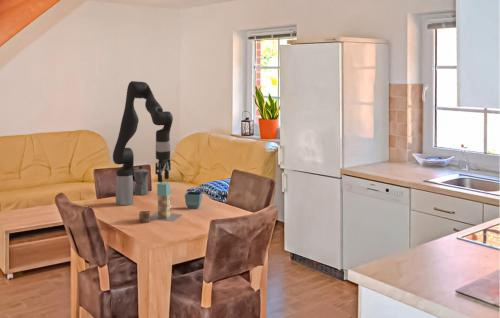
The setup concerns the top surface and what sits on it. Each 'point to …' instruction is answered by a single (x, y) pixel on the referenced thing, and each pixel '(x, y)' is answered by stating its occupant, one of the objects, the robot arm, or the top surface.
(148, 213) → the walnut block
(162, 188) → the teal block
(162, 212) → the tower base block
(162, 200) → the tower top block
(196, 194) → the flower pot
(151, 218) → the slate board
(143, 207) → the top surface
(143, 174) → the coffeepot
